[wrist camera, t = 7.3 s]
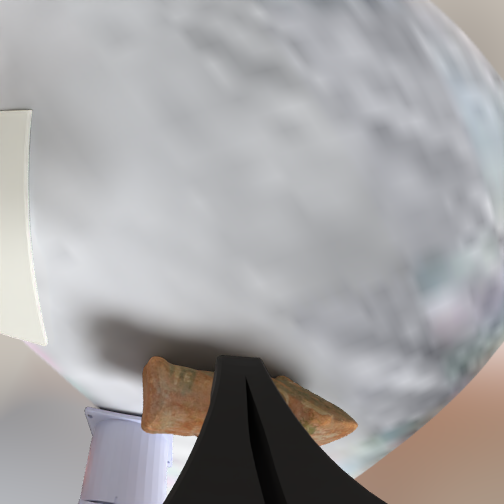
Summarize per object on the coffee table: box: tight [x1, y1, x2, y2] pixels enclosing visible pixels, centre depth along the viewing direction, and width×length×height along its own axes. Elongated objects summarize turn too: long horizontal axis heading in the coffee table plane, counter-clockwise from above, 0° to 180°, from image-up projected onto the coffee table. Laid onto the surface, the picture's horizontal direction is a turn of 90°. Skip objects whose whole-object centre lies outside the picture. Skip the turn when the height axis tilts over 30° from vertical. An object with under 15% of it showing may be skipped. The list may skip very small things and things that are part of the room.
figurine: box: [141, 356, 358, 446], centre depth 19 cm, size 8×8×15 cm
